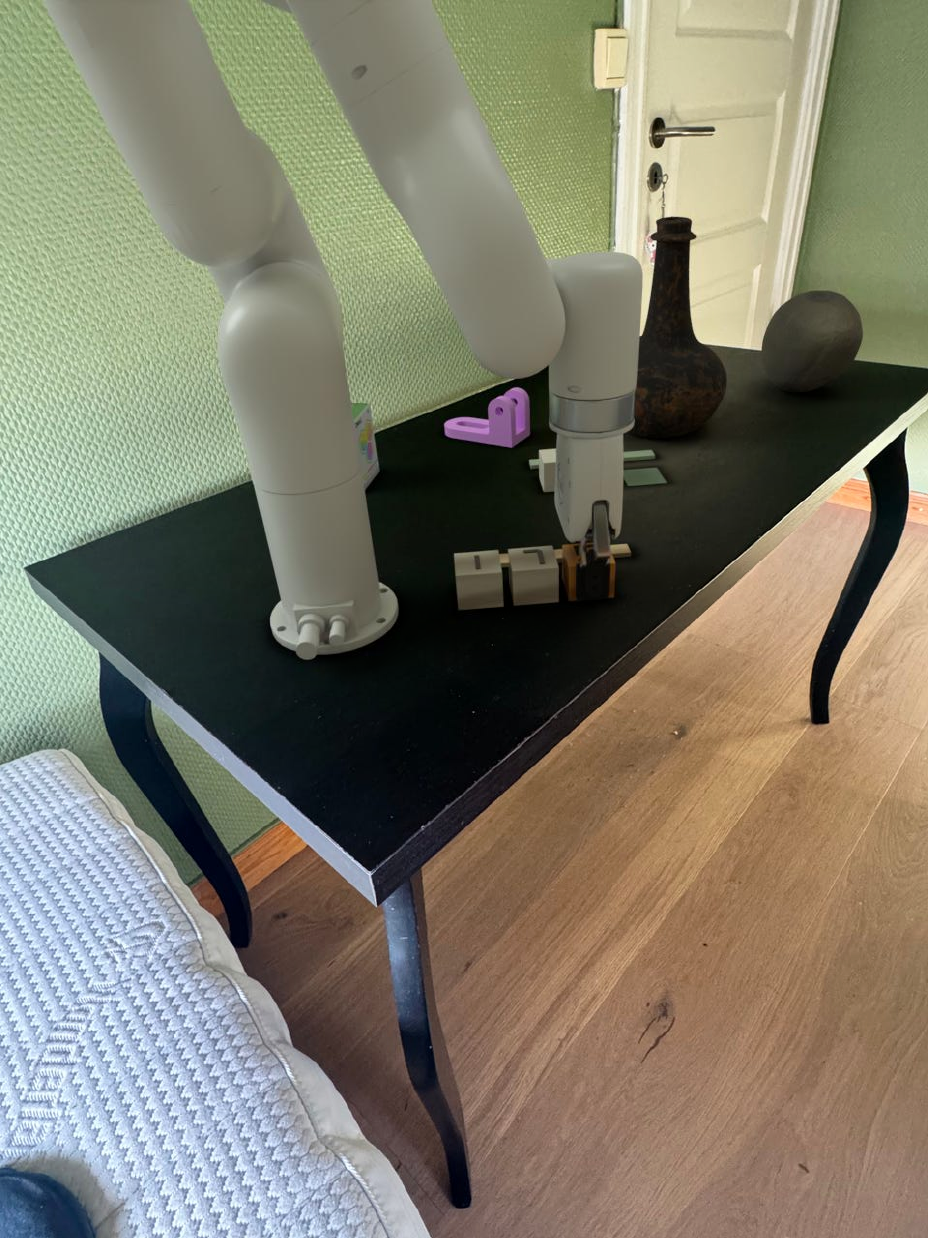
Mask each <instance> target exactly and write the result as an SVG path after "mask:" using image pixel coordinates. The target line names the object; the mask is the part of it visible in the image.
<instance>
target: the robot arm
mask: <svg viewBox="0 0 928 1238" xmlns="http://www.w3.org/2000/svg"><path fill="white" fill-rule="evenodd" d="M258 1H259V2H261V3H263V4H266V5H268V6H271V7H274V8H276V9H278V10H280V11H282V12H286V13H288V14H290V15H293V18H295V21H296V23H297V25H298V27H299V29H300V31H301V33H302V35H303V38H304V39H305V41H306V42H307V45H308V47H309V48H310V51H311V52H312V54H313V56H314V58H315V61H316V62H317V64H318V67H319V68H320V69H321V72H322V73H323V76H324V78H325V80H326V81H327V84H328V86H329V88H330V90H331V91H332V94H333V96H334V97H335V99H336V101H337V103H338V105H339V107H340V109H341V111H342V114H343V115H344V117H345V119H346V121H347V123H348V125H349V127H350V129H351V131H352V133H353V135H354V137H355V139H356V141H357V143H358V145H359V147H360V149H361V152H362V153H363V155H364V157H365V158H366V161H367V162H368V164H369V166H370V168H371V170H372V172H373V174H374V177H375V178H376V180H377V181H378V183H379V186H380V187H381V189H382V190H383V192H384V193H385V194H386V196H387V197H388V199H389V200H390V202H391V203H392V204H393V205H394V207H395V208H396V210H397V211H398V213H399V214H400V216H401V218H402V219H403V221H404V223H405V224H406V226H407V227H408V229H409V231H410V233H411V236H413V238H414V240H415V243H416V244H417V246H418V248H419V250H420V252H421V254H422V256H423V258H424V259H425V262H426V264H427V265H428V267H429V269H430V271H431V273H432V275H433V277H434V279H435V281H436V283H437V285H438V287H439V289H440V291H441V293H442V294H443V296H444V299H445V301H446V303H447V305H448V307H449V309H450V311H451V313H452V314H453V318H454V320H455V322H456V325H457V327H458V329H459V331H460V333H461V335H462V336H463V339H464V340H465V342H466V343H467V345H468V349H469V350H470V352H471V354H472V356H473V357H474V359H475V360H476V361H477V362H478V364H480V366H482V367H483V368H484V369H485V370H486V371H488V372H489V373H491V374H493V375H496V376H498V377H500V378H504V379H508V380H515V379H516V380H518V379H519V380H521V379H525V378H529V377H532V376H534V375H536V374H538V373H540V372H541V371H543V370H544V369H546V368H547V367H548V389H549V390H548V394H549V395H548V397H549V398H548V401H549V403H548V404H549V405H548V406H549V407H548V408H549V409H548V410H549V414H548V416H549V418H548V419H549V421H548V425H549V428H550V430H551V431H552V432H555V433H556V443H555V444H556V445H555V449H556V469H555V491H554V495H553V496H554V497H553V498H554V499H553V501H554V507H555V510H556V514H557V516H558V520H559V522H560V526H561V529H562V531H563V534H564V536H565V538H566V539H567V543H566V545H567V544H579V560H580V563H576V598H577V601H578V602H586V601H596V600H597V601H598V600H606V599H609V598H608V597H609V587H610V564H611V563H610V555H611V553H610V545H611V539H613V540H616V539H617V538H618V537H619V536H620V534H621V529H622V521H623V505H624V503H623V499H624V478H623V470H624V462H623V459H624V455H623V452H624V434H626V433H629V432H628V431H629V430H631V429H632V428H633V427H634V423H635V406H636V386H637V371H638V354H639V336H641V335H640V334H641V319H642V316H641V315H642V301H643V300H642V299H643V277H644V276H643V269H642V265H641V263H640V262H639V260H638V259H637V258H636V257H635V256H633V255H631V254H629V253H625V252H618V251H589V252H580V253H575V254H569V255H566V256H564V257H562V258H559V257H558V258H556V257H555V258H548V257H546V258H545V255H544V253H543V251H542V249H541V246H540V244H539V241H538V239H537V237H536V234H535V232H534V229H533V227H532V225H531V223H530V220H529V218H528V216H527V213H526V211H525V208H524V207H523V205H522V202H521V200H520V198H519V196H518V194H517V191H516V189H515V187H514V185H513V183H512V181H511V179H510V177H509V174H508V172H507V171H506V168H505V166H504V165H503V162H502V160H501V158H500V155H499V153H498V152H497V150H496V147H495V144H494V142H493V140H492V138H491V135H490V132H489V130H488V127H487V125H486V123H485V121H484V119H483V117H482V114H481V112H480V110H479V108H478V106H477V104H476V102H475V100H474V97H473V96H472V95H473V94H472V93H471V91H470V88H469V86H468V84H467V82H466V79H465V77H464V75H463V72H462V70H461V68H460V66H459V64H458V61H457V58H456V56H455V54H454V51H453V48H452V47H451V44H450V42H449V40H448V38H447V35H446V33H445V30H444V28H443V25H442V23H441V21H440V19H439V16H438V14H437V11H436V8H435V6H434V4H433V2H432V0H258ZM42 2H43V5H44V6H45V8H46V10H47V12H48V15H49V16H50V18H51V20H52V22H53V24H54V26H55V28H56V30H57V32H58V34H59V36H60V38H61V40H62V41H63V43H64V46H65V47H66V49H67V51H68V53H69V55H70V57H71V58H72V60H73V62H74V65H75V66H76V68H77V70H78V72H79V74H80V76H81V78H82V80H83V82H84V83H85V86H86V87H87V89H88V92H89V93H90V95H91V98H92V100H93V102H94V104H95V107H96V108H97V110H98V112H99V115H100V116H101V118H102V120H103V122H104V124H105V126H106V128H107V130H108V132H109V133H110V135H111V137H112V139H113V141H114V143H115V144H116V147H117V148H118V149H117V150H119V153H120V154H121V156H122V158H123V160H124V162H125V164H126V165H127V168H128V169H129V171H130V173H131V175H132V177H133V179H134V181H135V183H136V184H137V187H138V188H139V191H140V193H141V195H142V197H143V199H144V201H145V203H146V205H147V208H148V209H149V211H150V213H151V216H152V217H153V219H154V222H155V223H156V225H157V226H158V228H159V230H160V231H161V233H162V235H163V236H164V238H165V239H166V240H167V241H168V242H169V243H170V245H172V247H173V248H174V249H175V250H176V251H178V252H179V253H180V254H182V255H183V256H184V257H185V258H187V259H188V260H191V261H192V262H195V263H196V264H199V265H202V266H205V267H206V269H207V270H208V272H209V274H210V277H211V278H212V280H213V282H214V284H215V285H216V288H217V289H218V291H219V293H220V295H221V297H222V299H223V301H224V303H225V306H224V308H223V311H222V313H221V316H220V320H219V324H218V329H217V338H216V344H217V345H216V350H217V359H218V365H219V370H220V375H221V378H222V382H223V385H224V388H225V391H226V393H227V396H228V399H229V403H230V405H231V409H232V411H233V414H234V417H235V420H236V423H237V426H238V429H239V433H240V436H241V437H240V438H241V441H242V444H243V447H244V452H245V455H246V459H247V464H248V468H249V473H250V476H251V480H252V484H253V488H254V491H255V496H256V499H257V504H258V508H259V512H260V517H261V520H262V526H263V528H264V529H263V530H264V533H265V534H264V535H265V538H266V542H267V547H268V549H269V550H268V551H269V555H270V559H271V562H272V567H273V570H274V571H273V572H274V576H275V579H276V584H277V588H278V591H279V596H280V601H279V602H278V603H277V604H276V605H275V606H274V608H273V609H272V611H271V613H270V617H269V625H270V628H271V632H272V636H273V637H274V639H275V640H276V642H278V643H279V644H280V645H281V646H283V647H285V648H287V649H289V650H291V651H294V652H295V654H296V656H298V657H299V659H302V660H305V661H306V660H309V661H311V660H313V659H315V658H316V657H317V656H318V655H320V656H321V655H324V656H325V655H335V654H341V653H346V652H351V651H354V650H356V649H357V650H358V649H359V648H360V649H361V648H362V647H366V646H367V645H369V644H371V643H374V642H376V641H377V640H378V639H380V638H381V637H383V636H385V635H386V633H387V632H388V631H390V630H391V629H392V628H393V626H394V625H395V624H396V621H397V619H398V617H399V602H398V598H397V596H396V594H395V592H394V591H393V590H392V589H391V588H390V587H389V586H387V585H386V584H384V583H382V582H379V576H378V569H377V563H376V555H375V548H374V543H373V536H372V535H373V534H372V530H371V521H370V516H369V510H368V503H367V497H366V490H365V489H364V482H363V476H362V469H361V463H360V457H359V451H358V443H357V438H356V431H355V425H354V419H353V412H352V406H351V403H352V402H351V401H352V400H351V396H350V389H349V384H348V375H347V366H346V357H345V349H344V325H343V321H344V319H343V310H342V305H341V301H340V299H339V296H338V293H337V291H336V288H335V286H334V283H333V281H332V279H331V276H330V274H329V272H328V269H327V266H326V265H325V263H324V260H323V258H322V255H321V253H320V251H319V249H318V247H317V244H316V241H315V239H314V237H313V234H312V233H311V229H309V226H308V223H307V220H306V219H305V216H304V215H303V214H304V213H303V212H302V209H301V207H300V205H299V203H298V200H297V198H296V196H295V193H294V191H293V188H292V186H291V184H290V182H289V179H288V178H287V175H286V173H285V171H284V169H283V167H282V165H281V163H280V161H279V160H278V157H277V156H276V154H275V153H274V151H273V150H272V148H271V147H270V146H269V145H268V143H267V142H266V141H265V140H264V139H263V138H262V137H261V136H260V135H259V134H257V133H256V132H255V131H254V130H252V129H251V128H250V127H248V126H246V125H245V123H244V120H243V118H242V117H241V115H240V112H239V110H238V109H237V107H236V104H235V102H234V101H233V98H232V96H231V94H230V92H229V90H228V88H227V85H226V82H225V80H224V79H223V77H222V74H221V73H220V70H219V68H218V66H217V64H216V63H217V62H216V61H215V58H214V56H213V54H212V50H211V48H210V46H209V42H208V40H207V38H206V35H205V32H204V30H203V29H202V26H201V24H200V22H199V20H198V18H197V17H196V14H195V13H194V11H193V8H192V6H191V5H190V2H189V0H42ZM591 542H594V547H593V549H589V550H588V552H587V543H591Z"/></svg>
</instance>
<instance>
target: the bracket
mask: <svg viewBox="0 0 928 1238" xmlns="http://www.w3.org/2000/svg"><path fill="white" fill-rule="evenodd" d="M516 402H517V403H516ZM501 409H502V410H501ZM487 412H488V413H487V415H488V419H484V418H477V417H470V416H459V417H455V418H451V419H448V420H446V421H445V422H444V424H443V427H444V435H445V436H446V437H448V438H451V439H457V440H461V441H469V442H474V443H479V444H487V445H494V446H500V447H507V448H511V449H512V448H514V447H515V446H516V445H518V444H519V443H521V442H522V441H524V440H525V439H526V438H528V437H529V436H531V419H530V418H531V417H530V413H531V411H530V396H529V395H528V393H527V391H526V390H524V389H523V388H521V387H516V386H515V387H512V388H510V389H509V390H507V391H505V393H504V394H503V395H499V396H497V397H496V398H494V399H492V400H491V401H490V402H489V404H488V408H487Z"/></svg>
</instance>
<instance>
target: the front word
mask: <svg viewBox="0 0 928 1238" xmlns="http://www.w3.org/2000/svg"><path fill="white" fill-rule="evenodd" d="M610 551H611V554H612V556H613V558H614V559H621V558H622V559H623V558H631V557H632V551H631V549H630V547H629V544H628V543H620V544H619V543H617V544H610ZM453 560H454V570H455V571H454V573H455V585H456V586H455V587H456V596H457V607H458V609H457V610H458V611H465V610H467V611H468V610H478V609H490V608H503V607H504V605H505V603H504V586H503V585H504V584H503V582H504V581H503V570H502V568H508V578H509V579H508V581H509V588H510V594H511V599H512V604H513V606H526V605H528V606H529V605H539V604H540V605H541V604H552V603H553V604H554V603H559V601H560V566H559V564H560V563H561V564H562V548H558V549H554V547H553V545H543V546H530V547H519V548H507V553H500V551H499V549H493V550H482V551H481V550H480V551H470V552H457V553H456V552H455V553H453Z"/></svg>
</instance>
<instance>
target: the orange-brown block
mask: <svg viewBox="0 0 928 1238" xmlns="http://www.w3.org/2000/svg"><path fill="white" fill-rule="evenodd" d="M593 547H594V542H591V543H587V552H588V550H589V549H593ZM561 549H562V563H561V581H562V583H563V586H564V589H565V590H564V591H565V592H566V596H567V600H568V602H575V601H578V600H577V598H576V563H580V560H579V544H567V543H566V544H562V546H561ZM610 553H611V551H610ZM610 563H611V564H610V587H609V597H608V598H607V599H613V598H614V597H615V584H616V583H615V581H616V561H615V558H613V556H612V554H611V555H610Z"/></svg>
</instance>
